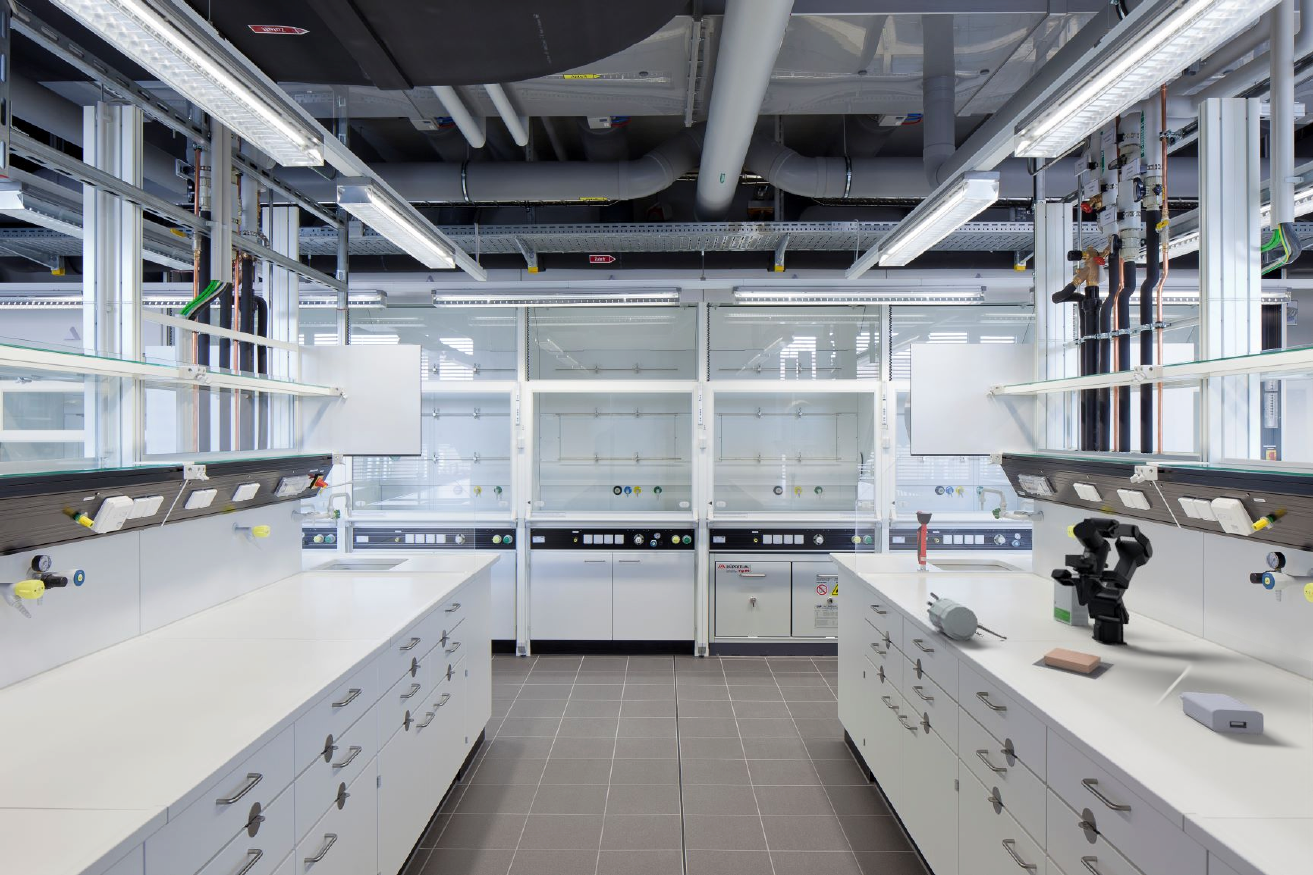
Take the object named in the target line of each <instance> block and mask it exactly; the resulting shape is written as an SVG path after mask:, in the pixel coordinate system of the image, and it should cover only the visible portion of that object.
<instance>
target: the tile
mask: <svg viewBox="0 0 1313 875" xmlns="http://www.w3.org/2000/svg"><path fill="white" fill-rule="evenodd" d="M1043 658H1044V663H1045V664H1046V665H1050V666H1054V667H1059V668H1063V669H1067V670H1072V671H1076V672H1080V673H1085V674H1089V673H1090V672H1091V671H1093V670H1094V669H1095V668H1097V667H1098V666H1099V665H1101V662H1102V661H1101V656H1098V655H1093V654H1090V653H1089V654H1088V653H1084V652H1079V651H1075V650H1070V649H1065V648H1061V647H1055V648H1054V649H1052V650H1051V651H1048V652H1047V653H1046V654H1044V655H1043Z"/></svg>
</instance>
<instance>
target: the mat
mask: <svg viewBox="0 0 1313 875" xmlns="http://www.w3.org/2000/svg"><path fill="white" fill-rule="evenodd" d="M1114 665H1115V664H1112V663H1109V662H1104V661H1101V665H1099V666H1098V667H1097V668H1095V669H1094V670H1093V671H1091V672H1090V673H1089V674H1085V673H1080V672H1076V671H1072V670H1067V669H1063V668H1059V667H1054V666H1050V665H1046V664H1045V663H1044V657H1042V658H1040V659H1039V660H1037V661H1035V662H1034V663H1032V666H1037V667H1041V668H1046V669H1050V670H1053V671H1058V672H1062V673H1067V674H1071V675H1074V676H1078V677H1079V676H1080V677H1083V678H1088V679H1091V680H1096V679H1097V678H1099V677H1100V676H1102V675H1103V674H1104V673H1105V672H1107V671H1108V670H1109V669H1110V668H1112V667H1113V666H1114Z"/></svg>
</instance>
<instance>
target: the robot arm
mask: <svg viewBox="0 0 1313 875" xmlns="http://www.w3.org/2000/svg"><path fill="white" fill-rule="evenodd" d="M1072 533H1073V535H1074V537H1075V538H1076V539H1077V541H1078V542H1079V543H1080V545H1081V546H1082V547H1084V549H1083V552H1082V554H1065V555H1064V558H1065V559H1064V565H1065V567H1071V568H1072V570H1073V572H1071V571H1070V570H1069V569H1067V568H1054V569H1053V570H1052V572H1051V575H1050V577H1051V578H1052V579H1053V580H1054V579H1055V580H1056V581H1057V582H1059V583H1060V584H1061V585H1063V586H1075V587H1076V590H1077V596H1078V602H1079V605H1080V606H1085V605H1086V604H1087V606H1088V612H1089V617H1088V618H1089V619H1090V620H1091V619H1092V620H1094V623H1093V624H1092V626H1093V627H1092V628H1093V634H1092V635H1091V639H1093V640H1095V641H1097V642H1100V643H1101V644H1104V645H1128V642H1126V641H1124V640H1125V639H1124V635H1125V634H1124V625H1129V624H1130V623H1129V621H1130V614H1129V611H1128V609H1127V608H1126V606H1125V603H1124V600H1123V598H1124V597H1123V596H1124V595H1125V593H1126V590H1128V589H1129V586H1130V582H1131V580H1132V579H1133V576H1134V575H1135V572H1136V570H1137V569H1138V568H1140V567H1142V566H1145V565H1146V564H1147V563H1148V562H1149V560H1150V559H1151V558H1152V557H1153V553H1154V552H1153V547H1152V544H1151V541H1150V539H1149V538H1148V537H1147V536H1146V535H1145V534H1144V533H1142V532H1141V529H1140V527H1139V526H1138V525H1136V524H1132V523H1121V522H1120V521H1118V520H1117V519H1114V518H1107V517H1106V518H1105V517H1092V516H1091V517H1090V518H1083V520H1082V521H1081V522H1078V523H1077V524H1076V525H1074V526H1073V528H1072ZM1121 537H1126V538H1134V540H1123V539H1121ZM1107 539H1111V540H1115V539H1116V540H1115V541H1114V547H1115V549H1116V552H1117V555H1118V560H1117V563H1116V564H1115V567H1114V568H1113V570H1112V569H1111V570H1110V569H1109V564H1108V563H1107V559H1108V555H1109V552H1112V548H1111V544H1110V542H1109V541H1108V540H1107ZM1106 569H1107V570H1106Z"/></svg>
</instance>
